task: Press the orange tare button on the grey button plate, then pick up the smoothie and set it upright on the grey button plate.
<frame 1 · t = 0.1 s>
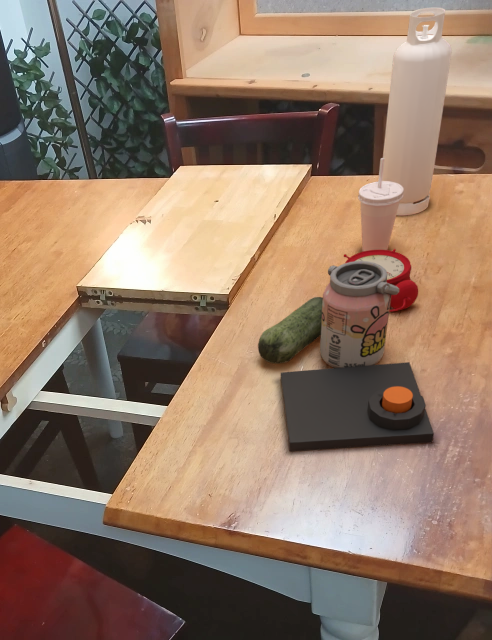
grey button plate: (351, 409, 90), on the table
alarm clock: (376, 297, 107), on the table
smoothie: (374, 252, 115), on the table
beverage can: (353, 355, 98), on the table
tare button: (397, 400, 85), point 3 cm above the table, slide at 0.1 cm
bottle: (402, 205, 125), on the table
vegetable: (298, 345, 101), on the table
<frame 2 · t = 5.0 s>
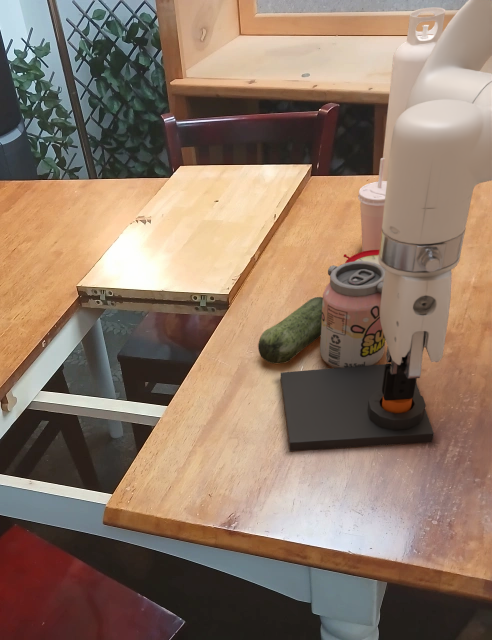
hand: (397, 395, 84), 4 cm above the table, tool pointing down, fingers closed
tare button: (397, 400, 85), point 3 cm above the table, slide at 0.1 cm, touching gripper
everything else where it was.
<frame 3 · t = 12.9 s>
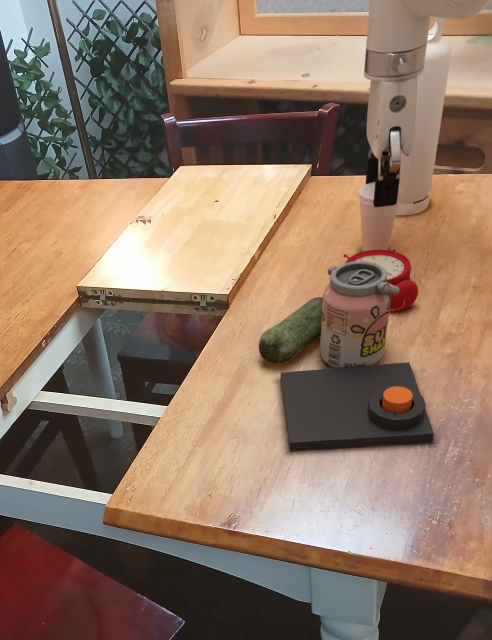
hand: (380, 194, 109), 9 cm above the table, tool pointing down, fingers closed on smoothie, 6 cm apart
smoothie: (374, 252, 115), on the table, touching gripper
tare button: (397, 400, 85), point 3 cm above the table, slide at 0.1 cm
everything else where it was.
when the fingers open (10 cm above the table, at t = 22.8 s): smoothie stays where it is, resting on grey button plate.
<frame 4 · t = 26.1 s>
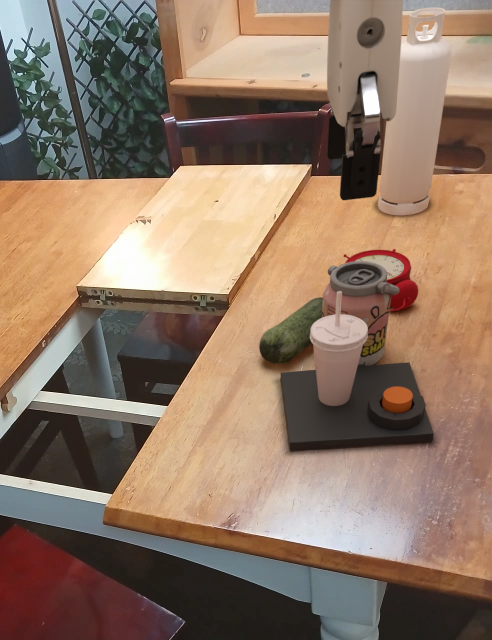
hand: (350, 176, 71), 28 cm above the table, tool pointing down, fingers open, 9 cm apart
smoothie: (334, 397, 90), point 1 cm above the table, touching grey button plate
everything else where it was.
at the end: tare button pushed in 0.9 cm at the most during the clip, back to where it started at the end; smoothie inside the target area on the grey button plate (2.2 cm from its centre), point 1.2 cm above the grey button plate's base; smoothie tilted 0° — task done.
